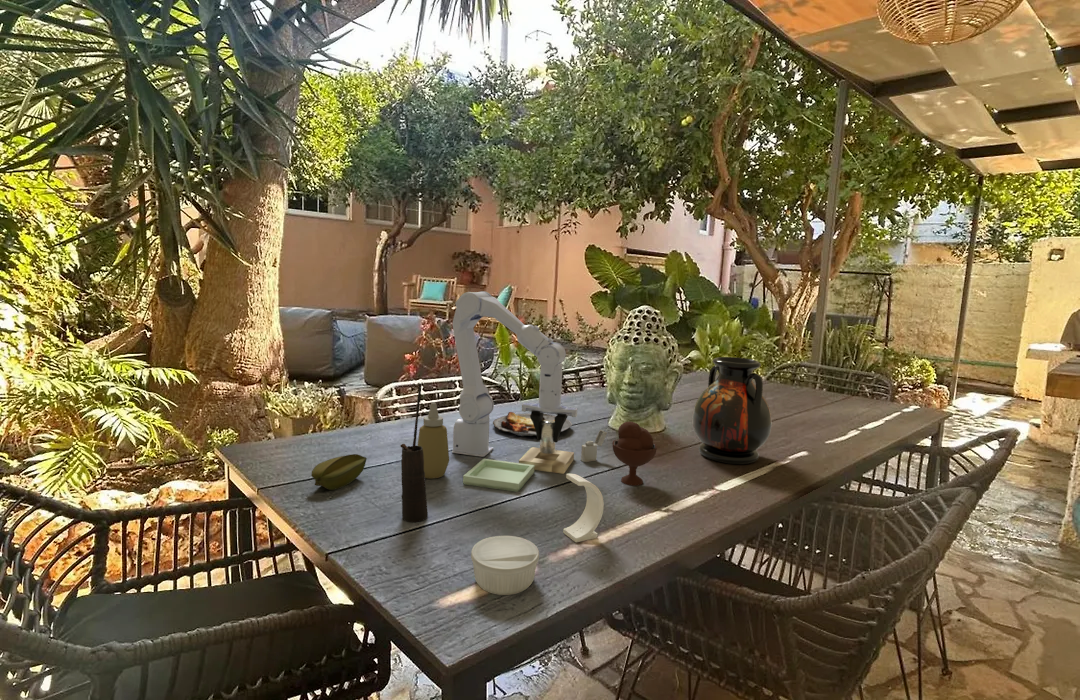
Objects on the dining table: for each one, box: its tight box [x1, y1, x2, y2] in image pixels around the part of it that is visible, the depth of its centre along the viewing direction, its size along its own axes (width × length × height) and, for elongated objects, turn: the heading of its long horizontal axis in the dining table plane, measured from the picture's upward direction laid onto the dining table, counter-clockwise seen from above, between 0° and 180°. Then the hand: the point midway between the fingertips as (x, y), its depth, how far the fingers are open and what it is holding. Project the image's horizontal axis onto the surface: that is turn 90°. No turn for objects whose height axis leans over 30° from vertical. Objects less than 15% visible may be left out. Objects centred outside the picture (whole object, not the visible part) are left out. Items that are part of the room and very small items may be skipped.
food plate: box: [492, 411, 573, 437], centre depth 188 cm, size 25×23×4 cm
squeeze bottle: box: [417, 402, 450, 480], centre depth 141 cm, size 8×8×18 cm
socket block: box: [518, 446, 575, 475], centre depth 155 cm, size 12×12×2 cm
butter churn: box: [399, 383, 429, 523], centre depth 117 cm, size 9×10×28 cm
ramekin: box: [470, 535, 540, 596], centre depth 96 cm, size 11×11×5 cm
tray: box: [462, 458, 535, 493], centre depth 142 cm, size 14×14×2 cm
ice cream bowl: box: [612, 421, 658, 486], centre depth 143 cm, size 11×11×15 cm
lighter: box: [580, 429, 608, 463], centre depth 159 cm, size 7×2×8 cm, turn 120°
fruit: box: [311, 453, 368, 491], centre depth 134 cm, size 11×12×7 cm
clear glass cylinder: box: [539, 420, 556, 454], centre depth 154 cm, size 4×4×8 cm
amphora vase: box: [691, 356, 773, 465], centre depth 166 cm, size 22×22×28 cm
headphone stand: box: [562, 473, 605, 543], centre depth 113 cm, size 5×6×12 cm
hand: (547, 440), depth 154 cm, fingers closed on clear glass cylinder, 4 cm apart
